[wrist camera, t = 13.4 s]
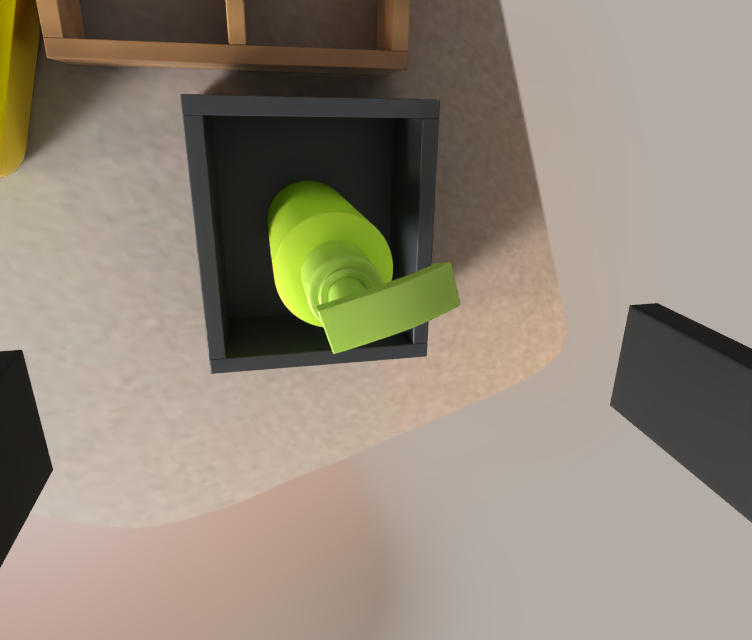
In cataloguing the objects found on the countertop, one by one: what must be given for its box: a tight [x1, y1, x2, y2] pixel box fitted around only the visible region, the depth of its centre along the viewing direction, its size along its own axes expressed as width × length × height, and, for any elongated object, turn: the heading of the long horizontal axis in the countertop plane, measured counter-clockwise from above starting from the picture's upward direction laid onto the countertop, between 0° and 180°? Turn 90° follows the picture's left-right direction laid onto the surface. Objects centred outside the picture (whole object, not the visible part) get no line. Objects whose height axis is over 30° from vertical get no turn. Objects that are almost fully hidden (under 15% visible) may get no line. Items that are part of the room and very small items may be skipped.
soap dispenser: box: [267, 180, 460, 354], centre depth 29 cm, size 6×7×20 cm
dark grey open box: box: [181, 94, 440, 374], centre depth 35 cm, size 16×14×8 cm
